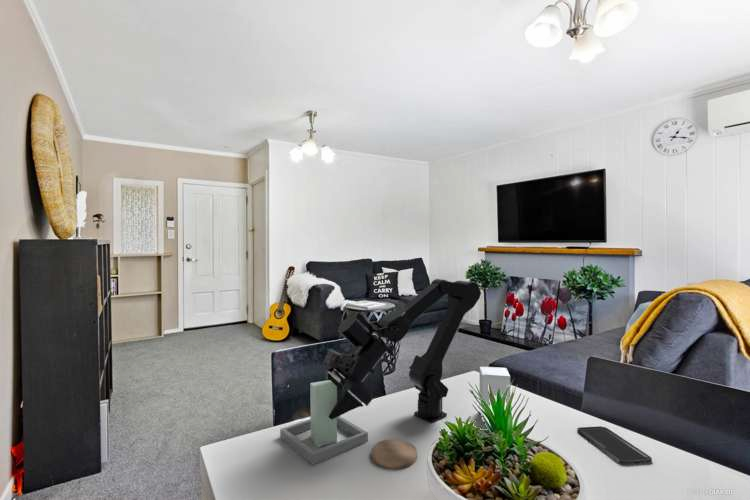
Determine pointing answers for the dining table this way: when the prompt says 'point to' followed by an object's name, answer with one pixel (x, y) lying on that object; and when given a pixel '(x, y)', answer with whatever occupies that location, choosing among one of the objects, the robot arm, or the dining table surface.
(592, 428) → the phone
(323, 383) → the green block
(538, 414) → the dining table surface
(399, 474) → the dining table surface
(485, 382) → the supplement box
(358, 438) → the tray
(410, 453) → the coaster
